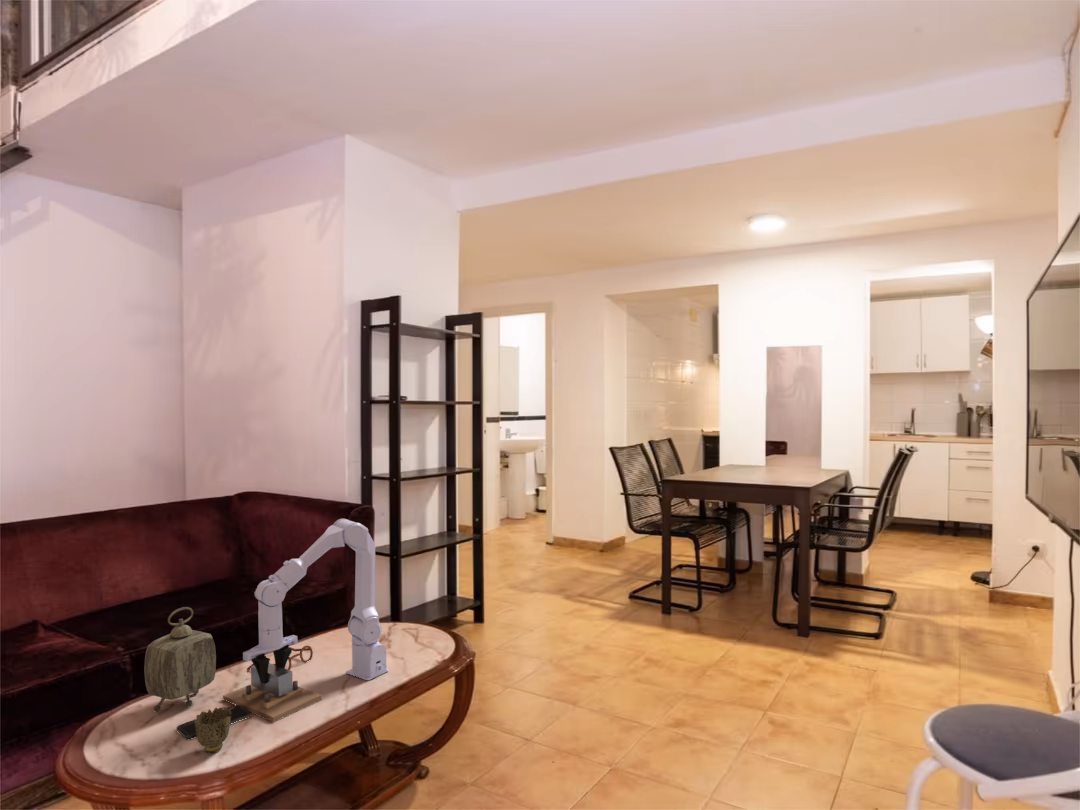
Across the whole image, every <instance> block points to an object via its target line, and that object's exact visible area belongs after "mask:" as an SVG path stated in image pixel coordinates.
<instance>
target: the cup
mask: <svg viewBox="0 0 1080 810" xmlns="http://www.w3.org/2000/svg"><path fill="white" fill-rule="evenodd" d="M195 718H196V719H197V720H195ZM195 718H194V719H193V720H194V723H195V729H196V735H197V737H196V739H197V741H198V743H199V745H201V746H202V747H204V748H203V749H204V751H205V753H207V754H215V753H217V752H219V751H221V750H222V748H223V746H224V745H223V743H224V742H225V741H226V740H227V738H228V735H229V734H230V733H229V732H230V726H231V725H230V719H231V710H230V709H229V710H228V711H227V708H226V707H224V708H222V707H219V708H217V707H215V708H214V709H213V711H212V710H211V709H208V711H201V712H200V713H199V714H196V716H195Z"/></svg>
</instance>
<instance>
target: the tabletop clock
mask: <svg viewBox="0 0 1080 810" xmlns="http://www.w3.org/2000/svg"><path fill="white" fill-rule="evenodd" d="M185 610H186V611H190V613H191V614H190V616H189V617H188V618H186V619H184V618H179V619H178V622H176V623H175V622H174V623H173V622H171V618H172V617H173V616H174V615H175V614H177V613H178V612H180V611H181V612H182V611H185ZM193 616H194V610H193V609H192V608H191V607H189V606H182V607H180V608H177V609H175V610H174V611H172V612H171V613H170V614H169V616H168V618H167V623H168V625H170V626H172V627H173V628H172V629H171V631H170V633H168V634H166V635H164V636H161V637H159V638H157V639H155V640H153V641H151V643H150V644H148V645H147V648H146V651H145V656H144V669H143V671H144V673H143V674H144V683H145V687H146V691H147V693H148V694H149V695H150V696H153V697H154V696H155V697H157V698H158V697H159V698H160V700H159V703H158V704H156V705H154V706H153V711H154V712H156V713H157V712H159V711H160V710H161V709H162V708H161V706H162V704H163V703H164V701H165V700H170V701H171V700H177V699H178V700H179V699H181V698H183V697H186V702H185V706H186V707H187V706H190V707H191V706H192V705H193V703H194V702H193V700H191V699H190V698H191V697H190V695H191V694H193V695H197V694H199V691H200V690H201V689H202V688H205V687H206V686H208V685H210V684H211V683H212V682H213V681H214V680H215V676H216V671H217V670H216V667H217V654H216V644H215V641H214V639H213V636H212V634H211V633H208V632H204V631H199V630H195V629H194V630H193V629H192V628H191V626H189V625H187V624H186V623H187V622H189V621H190V620H191V619H192V618H193Z"/></svg>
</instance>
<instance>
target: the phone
mask: <svg viewBox="0 0 1080 810" xmlns="http://www.w3.org/2000/svg"><path fill="white" fill-rule="evenodd" d="M226 709H227V711H228V710H229V709H230V710H231V719H230V724H231V723H234V722H236V721H239V720H242V719H245V718H247V719H249V718H251V716H250V715H251V712H249V711H248V710H246V709H245V708H243V707H242V706H240V705H236V706H235V705H233V706H229V707H227V708H226ZM248 717H249V718H248ZM194 719H195V718H194ZM194 719H192V720H190V721H188V722H184V723H182V724H178V725H177V726H176V732H177V731H178V732H179V733H180V734H181V735H180V734H179V733H178V732H177V733H178V734H179V735H180V736H182V737H183V738H184V739H185V738H186V739H185V740H187V739H190V740H192V739H191V738H194V737H196V738H197V735H196V729H195V723H194ZM195 720H197V718H196V719H195ZM245 720H246V719H245ZM242 721H243V720H242ZM239 722H240V721H239ZM234 724H235V723H234ZM231 725H232V724H231ZM194 739H195V738H194Z"/></svg>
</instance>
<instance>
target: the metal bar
mask: <svg viewBox="0 0 1080 810" xmlns="http://www.w3.org/2000/svg"><path fill="white" fill-rule="evenodd" d="M273 664H274V663H271V662H269V665H268V681H267V683H266V684H264V683H261V682H260V678H259V675H258V672H257V670H256V667H255V666H251V665H250V666H251V669H250V684H251V686H254V687H256V688H259V689H261V690H264V691H266V692H269V693H271V694H274V695H276V696H281V695H284V694H286V693H288V692H290V691H293V686H292V684H293V670H291V669H290V670H288V668H285V669H284V668H282V667H279V666H276V665H273Z"/></svg>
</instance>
